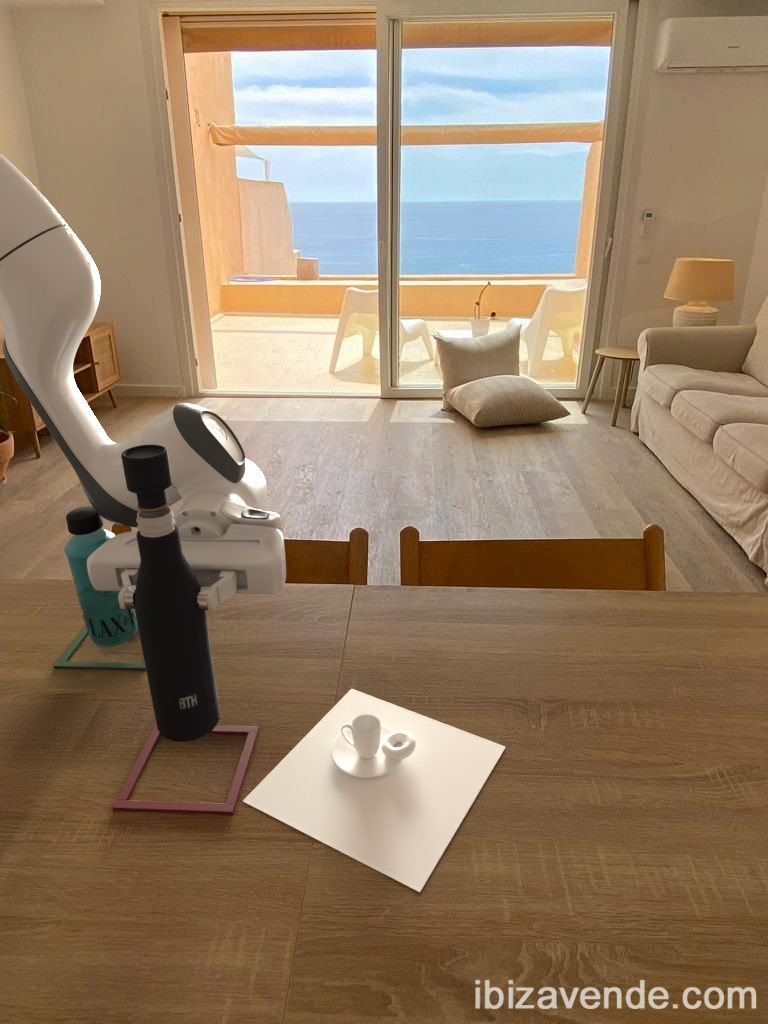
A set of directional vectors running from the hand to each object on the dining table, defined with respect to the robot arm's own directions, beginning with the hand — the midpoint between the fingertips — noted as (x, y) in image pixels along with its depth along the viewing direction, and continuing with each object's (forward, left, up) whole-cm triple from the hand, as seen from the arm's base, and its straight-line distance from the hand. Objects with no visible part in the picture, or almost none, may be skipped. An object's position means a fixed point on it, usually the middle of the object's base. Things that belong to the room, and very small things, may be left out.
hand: (166, 603), depth 66 cm
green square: (-17, +21, -20) cm, 34 cm away
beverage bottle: (-17, +21, -20) cm, 34 cm away
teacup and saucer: (+20, -1, -20) cm, 28 cm away
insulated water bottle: (0, +1, -15) cm, 15 cm away
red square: (0, -1, -20) cm, 20 cm away
